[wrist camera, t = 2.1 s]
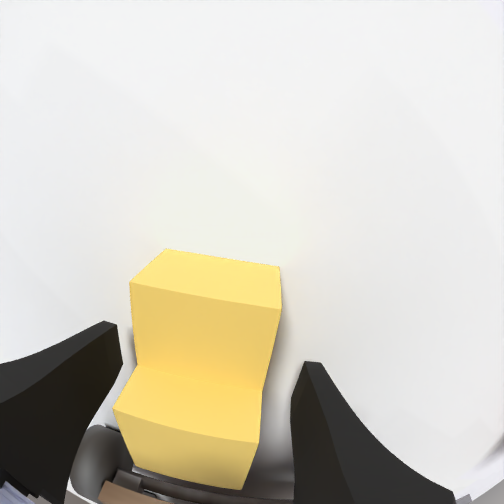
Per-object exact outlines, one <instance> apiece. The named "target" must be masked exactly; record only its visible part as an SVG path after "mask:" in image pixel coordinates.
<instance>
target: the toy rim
mask: <svg viewBox="0 0 504 504" xmlns="http://www.w3.org/2000/svg"><path fill="white" fill-rule="evenodd" d="M470 502H472V500H471V497H470V494H469V495H467V496H464V497H462V498H460V499H458V500H456V504H469V503H470Z"/></svg>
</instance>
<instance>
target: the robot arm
mask: <svg viewBox="0 0 504 504" xmlns="http://www.w3.org/2000/svg"><path fill="white" fill-rule="evenodd" d="M122 365H123V360H122V355H121V349H120V343H119V336H118V329H117V325H116V324H113V323H110V322H107V321H102V322H100V323H98V324H96V325H93V326H91V327H89V328H87V329H86V330H84V331H82V332H80V333H78V334H76V335H74V336H72V337H70V338H68V339H66V340H64V341H62V342H60V343H58V344H56V345H53V346H51V347H49V348H47V349H44V350H42V351H40V352H38V353H35V354H32V355H30V356H27V357H24V358H21V359H18V360H14V361H11V362H6V363H2V364H0V504H35V503H34V502H32V501H31V500H29V499H28V498H27V496H28V494H31V495H32V496H34V497H35V498H38V497H39V495H40V496H41V497H43V498H44V499H46V500H47V501H49V502H50V503H52V504H64V499H65V494H66V489H67V484H68V480H69V476H70V472H71V469H72V465H73V462H74V460H75V457H76V454H77V451H78V448H79V446H80V443H81V441H82V439H83V436H84V434H85V432H86V430H87V428H88V426H89V424H90V422H91V420H92V419H93V417H94V416H95V414H96V412H97V411H98V409H99V407H100V406H101V404H102V403H103V401H104V399H105V398H106V396H107V395H108V393H109V391H110V390H111V388H112V387H113V385H114V383H115V381H116V379H117V377H118V374H119V372H120V370H121V367H122ZM290 424H291V436H292V447H293V459H294V473H295V483H294V501H293V504H456V500H455V497H454V494H453V492H452V491H451V490H448V489H446V488H444V487H442V486H440V485H438V484H436V483H434V482H432V481H430V480H429V479H427V478H425V477H424V476H422V475H420V474H419V473H417V472H416V471H414V470H413V469H411V468H410V467H409V466H407V465H406V464H404V463H403V462H402V461H401V460H400V459H398V458H397V457H396V456H395V455H393V454H392V453H391V452H390V451H389V450H388V449H387V448H385V447H384V446H383V445H382V444H381V443H380V442H379V441H378V440H377V439H376V438H375V437H374V436H373V435H372V433H371V432H370V431H369V430H368V429H367V428H366V427H365V426H364V424H363V423H362V422H361V421H360V419H359V418H358V417H357V416H356V414H355V413H354V412H353V410H352V409H351V408H350V406H349V405H348V403H347V402H346V400H345V399H344V398H343V396H342V395H341V393H340V392H339V390H338V389H337V387H336V386H335V384H334V382H333V381H332V379H331V378H330V376H329V374H328V373H327V371H326V370H325V368H324V367H323V365H322V364H321V363H319V362H308V361H304V364H303V367H302V370H301V373H300V375H299V378H298V381H297V384H296V386H295V389H294V392H293V394H292V397H291V414H290Z"/></svg>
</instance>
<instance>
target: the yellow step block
mask: <svg viewBox="0 0 504 504" xmlns="http://www.w3.org/2000/svg"><path fill="white" fill-rule="evenodd" d="M129 285H130V301H131V313H132V324H133V334H134V342H135V350H136V357H137V364H138V365H137V367H136V368H135V370H134V372H133V373H132V375H131V377H130V378H129V380H128V382H127V384H126V385H125V387H124V389H123V390H122V392H121V394H120V396H119V397H118V399H117V401H116V403H115V404H114V406H113V408H112V409H113V412H114V415H115V418H116V420H117V423H118V426H119V428H120V431H121V434H122V436H123V438H124V441H125V443H126V446H127V448H128V450H129V453H130V455H131V457H132V459H133V462H134V464H135V466H137V467H140V468H143V469H146V470H149V471H152V472H156V473H159V474H162V475H166V476H170V477H173V478H177V479H181V480H186V481H190V482H195V483H199V484H205V485H210V486H216V487H222V488H229V489H236V490H242V487H243V485H244V482H245V480H246V477H247V474H248V472H249V469H250V467H251V464H252V461H253V458H254V456H255V453H256V450H257V447H258V444H259V435H260V420H261V404H262V390H263V386H264V382H265V378H266V374H267V370H268V366H269V362H270V358H271V354H272V350H273V346H274V342H275V337H276V333H277V329H278V324H279V320H280V316H281V311H282V302H281V285H280V269H279V267H278V266H271V265H265V264H259V263H252V262H246V261H239V260H233V259H227V258H221V257H214V256H208V255H202V254H196V253H190V252H183V251H177V250H171V249H165V250H164V251H163V252H162V253H160V254H159V255H158V256H157V257H156V258H155V259H154V260H153V261H151V262H150V263H149V264H148V265H147V266H146V267H145V268H144V269H143V270H142V271H140V272H139V273H138V274H137V275H136V276H135V277H134V278H133V279H132V280H131V281H130V282H129Z"/></svg>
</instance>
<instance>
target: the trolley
mask: <svg viewBox="0 0 504 504" xmlns="http://www.w3.org/2000/svg"><path fill="white" fill-rule="evenodd" d="M132 467H133V459H132V457H131V455H130V453H129V450H128V448H127V446H126V443H125V441H124V438H123V436H122V434H121V433H119V432H116V431H114V430H111V429H109V428H106V427H104V426H102V425H94V426H92V427H90V428H89V429H87V430H86V432H85V434H84V436H83V439H82V441H81V443H80V446H79V448H78V451H77V454H76V457H75V460H74V462H73V465H72V469H71V472H70V480H71V484H72V486H73V488H74V490H75V491H76V492H77V493H78V494H79V495H81V496H83V497H85V498H87V499H89V500H91V501H93V502H96V503H98V504H173V503H170V502H166V501H162V500H159V499H156V496H155V495H153V494H150V493H147V492H144V489H146V490H149V491H152V492H155V493H159V494H162V495H166V496H169V497H173V498H177V499H181V500H185V501H190V502H194V503H199V504H293V501H294V500H276V499H259V498H247V497H238V496H230V495H224V494H217V493H211V492H206V491H201V490H196V489H191V488H187V487H183V486H178V485H175V484H171V483H167V482H164V481H160V480H157V479H153V478H150V477H147V476H144V475H141V474H138V473H135V472H132Z"/></svg>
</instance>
